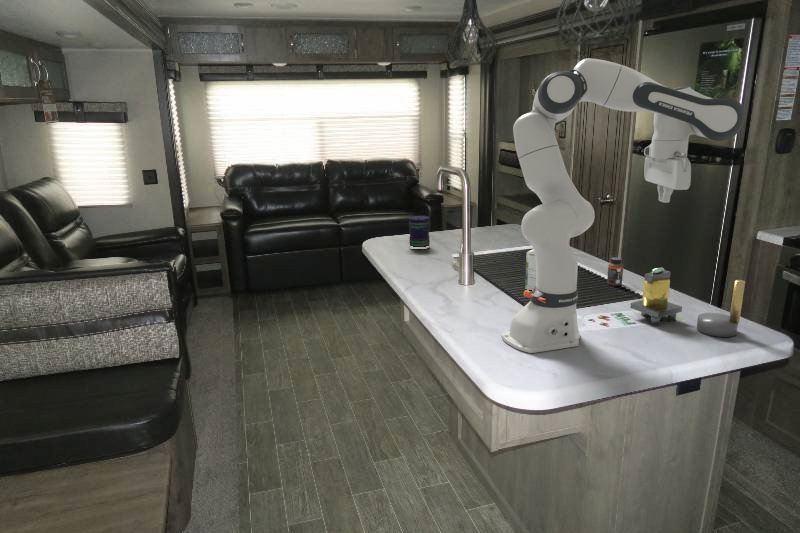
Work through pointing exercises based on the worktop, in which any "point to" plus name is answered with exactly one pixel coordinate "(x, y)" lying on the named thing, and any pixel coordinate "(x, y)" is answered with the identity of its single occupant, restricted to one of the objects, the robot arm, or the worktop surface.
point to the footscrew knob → (723, 316)
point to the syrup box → (530, 270)
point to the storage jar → (419, 231)
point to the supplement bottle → (615, 272)
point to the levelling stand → (657, 297)
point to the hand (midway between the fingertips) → (663, 201)
